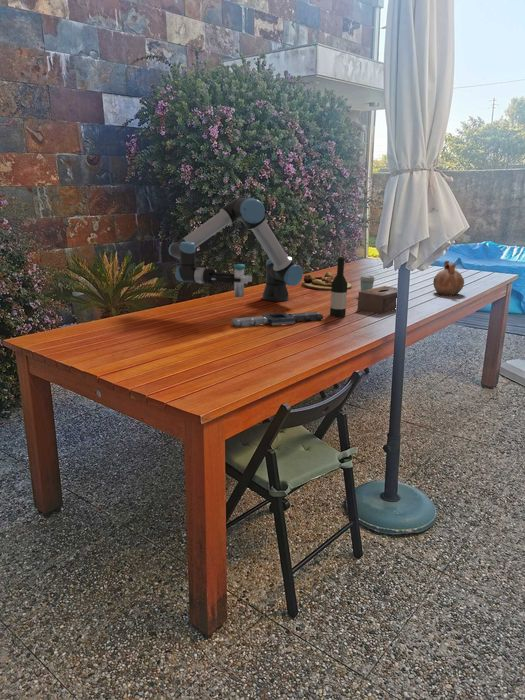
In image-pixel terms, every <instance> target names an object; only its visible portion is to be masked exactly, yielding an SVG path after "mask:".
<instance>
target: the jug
mask: <svg viewBox="0 0 525 700" xmlns="http://www.w3.org/2000/svg"><path fill="white" fill-rule="evenodd" d="M443 265H444V269H442V270H440V271H439V272H437V273H436V275H435V276H434V278H433V283H432V284H433V287H434V290H435V291H436V293H437V294H438V295H439V296H440V295H441V296H448V297H449V296H450V297H452V296H451V295H454V296H456V294H457V295H458V294H459V292H461V291H462V290H463V288H464V285H465V280H464V278H463V275H462V274H461V273H460V272H459V271H458V270H456V263H452V262H450V260H445V261H444V264H443Z"/></svg>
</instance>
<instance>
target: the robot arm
mask: <svg viewBox="0 0 525 700" xmlns="http://www.w3.org/2000/svg"><path fill="white" fill-rule="evenodd" d="M265 213H266V210H265V206H264V204H263V203H262V201H260V200H258V199H256V198H253V197H251V198H248V197H237V198H235V199H233V200H231V201H230V202H228V203H227V204H225V205H224V206H223V207H222V208H220V209H219V212H218V213H217V214H215V215H214V216H212V217H211V218H210V219H208V220H207V221H205V222H204V223H202V224H201V225H199V226H198V227H197V228H195V229H194V230H192V231H191V232H190V233H189V234H187V235H185V236H184V237H183V238H182V239H180V240H179V241H177V242H172V243H171V244H169V247H168V254H169V255H170V256H172V258H175V259H178V260H179V265H177V267H175V272H174V275H175V278H176V279H175V280H177V281H180V282H185V283H195V284H196V283H198V284H199V285H202V284H207V285H213V284H214V283H215V282H218V283H226V284H232V285H234V282H235V283H244V285H245V284H246V285H248V283H252V282H253V276H252V275H245V274H244V277H235V278H234V273H229V272H221V271H220V272H218V271H217V272H216V270H215V269H214V268H209V267H208V268H207V267H206V268H205V267H201V266H200V267H196V248H197V247H198V246H200V245H202V244H203V243H205V242H206V241H207V240H209V239H210V238H211V237H213V236H214V235H215V234H217V233H219V232H220V231H221V230H222V229H223V228H225V227H227V226H231V225H233V224H234V223H236V222H239V221H240V222H242V223H243V224H244V226H245V228H246V230H248V231H249V230H250V231H252V233H253V234H254V236H255V238H256V239H257V241H258V243H259V245H261V247H262V248H263V250H264V252H265V254H266V255H267V256H268V259H267V260H266V263H265V287H264V289H263V292H262V297H261V298H262V299H263V300H264V301H269V302H286V301H288V300H289V299H290V297H289V292H288V287H287V286H291V287H294V286H295V287H296V286H297V285H299V284H300V283H301V281H303V276H304V271H303V268H302V267H301V266H300V265H299V264H296V262H295V260H294V259H293V258H292V257H291V256H289V255H287V253H286V251H285V250H284V249H283V247H282V245H281V244H280V242H279V240H278V239H277V237H276V236H275V234H274V232H273V231H272V229H271V227H270V226H269V224H268V223H267V215H266V214H265Z"/></svg>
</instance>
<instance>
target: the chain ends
mask: <svg viewBox="0 0 525 700" xmlns="http://www.w3.org/2000/svg"><path fill="white" fill-rule="evenodd" d="M321 319H322V320H323V319H324V315H323V314H322V313H319V312H317V311H309V312H297V313H286V312H276V313H275V312H274V313H263V314H261V316H259V315H258V316H247V317H235V318H232V319H231V320H230V323H231V325H233V326H235V327H237V328H238V327H239V328H242V327H241V326H247V327H255V326H254V325H258V326H261V325H260V324H268V325H269V324H271V325H281V326H283V325H282V324H292V325H295V324H296V323H298V322H297V321H303V322H310V321H309V320H314V321H321ZM294 323H295V324H294ZM271 325H270V326H271Z"/></svg>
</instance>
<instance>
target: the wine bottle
mask: <svg viewBox="0 0 525 700" xmlns="http://www.w3.org/2000/svg"><path fill="white" fill-rule="evenodd" d="M344 267H345V258H344V256H342V255H339V256H338V257H337V268H336V275H335V276H336V277H335V276H334V277H335V278H334V277H333V281H332V290H331V291H330V292H331V295H330V305H329V307H330V309H329V316H330V315H331V316H330V317H332V316H335V317H334V318H345V317H346V313H347V312H346V309H347V295H348V290H347V283H348V282H347V280H346V277H345V275H344V272H345V271H344V270H345V268H344ZM344 316H345V317H344Z"/></svg>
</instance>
